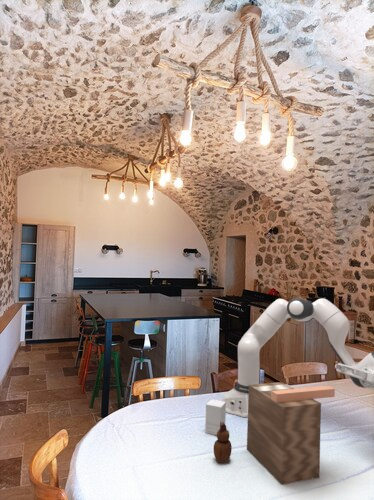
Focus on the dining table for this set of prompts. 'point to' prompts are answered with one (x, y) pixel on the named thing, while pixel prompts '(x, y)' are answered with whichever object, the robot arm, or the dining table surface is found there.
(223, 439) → the wooden figurine
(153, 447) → the dining table surface
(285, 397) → the terracotta bar
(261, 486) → the dining table surface
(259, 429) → the walnut pedestal
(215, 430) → the supplement box
